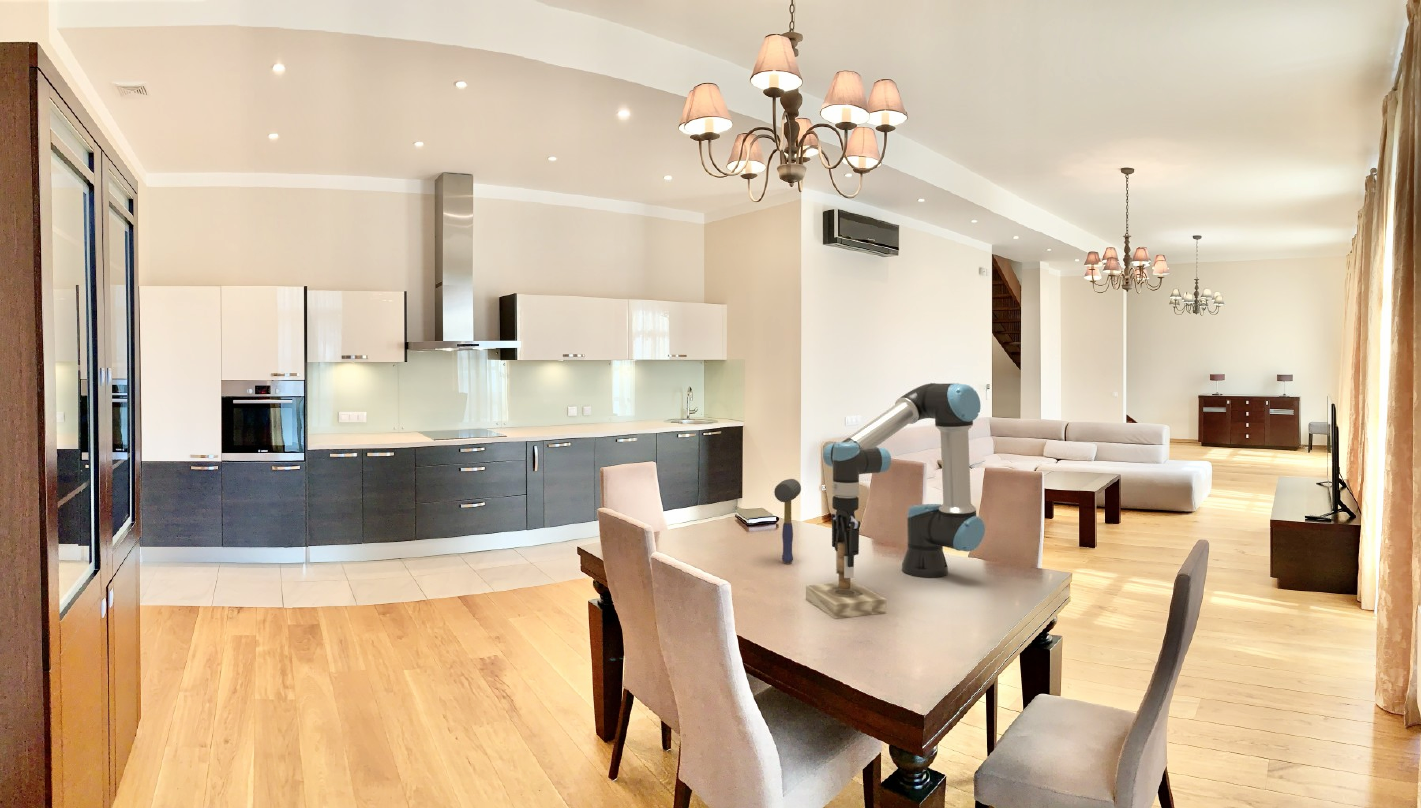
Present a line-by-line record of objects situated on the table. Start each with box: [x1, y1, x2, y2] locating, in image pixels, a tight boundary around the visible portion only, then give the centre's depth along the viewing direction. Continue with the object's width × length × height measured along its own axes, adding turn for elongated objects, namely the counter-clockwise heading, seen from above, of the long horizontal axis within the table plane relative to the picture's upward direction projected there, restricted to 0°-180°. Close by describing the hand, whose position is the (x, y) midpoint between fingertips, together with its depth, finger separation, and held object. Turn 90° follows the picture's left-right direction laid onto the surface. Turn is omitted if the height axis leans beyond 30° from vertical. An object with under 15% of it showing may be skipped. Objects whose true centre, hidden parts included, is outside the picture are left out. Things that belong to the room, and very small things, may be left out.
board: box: [805, 581, 887, 619], centre depth 223 cm, size 16×19×4 cm
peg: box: [836, 542, 851, 589], centre depth 222 cm, size 4×4×13 cm
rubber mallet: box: [773, 478, 802, 565], centre depth 271 cm, size 12×8×30 cm, turn 159°
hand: (844, 575), depth 222 cm, fingers closed on peg, 4 cm apart
